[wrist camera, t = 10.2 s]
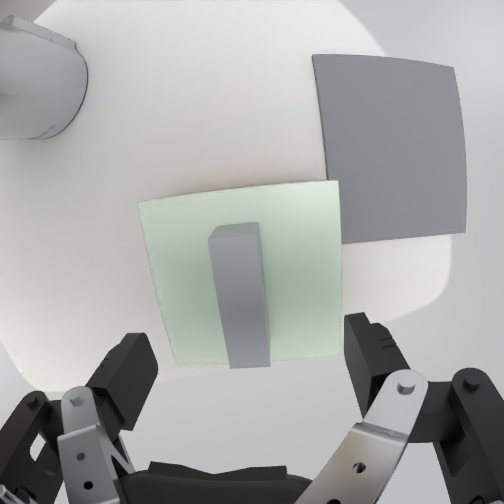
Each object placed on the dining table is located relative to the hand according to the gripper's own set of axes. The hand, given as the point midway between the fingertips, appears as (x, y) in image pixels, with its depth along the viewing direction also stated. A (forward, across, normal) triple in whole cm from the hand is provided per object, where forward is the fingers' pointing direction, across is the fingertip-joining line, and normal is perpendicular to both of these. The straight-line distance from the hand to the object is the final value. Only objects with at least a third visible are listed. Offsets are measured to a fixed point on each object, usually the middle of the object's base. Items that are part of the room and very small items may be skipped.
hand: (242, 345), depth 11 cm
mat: (+13, -13, -7) cm, 20 cm away
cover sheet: (+8, +1, +1) cm, 8 cm away
